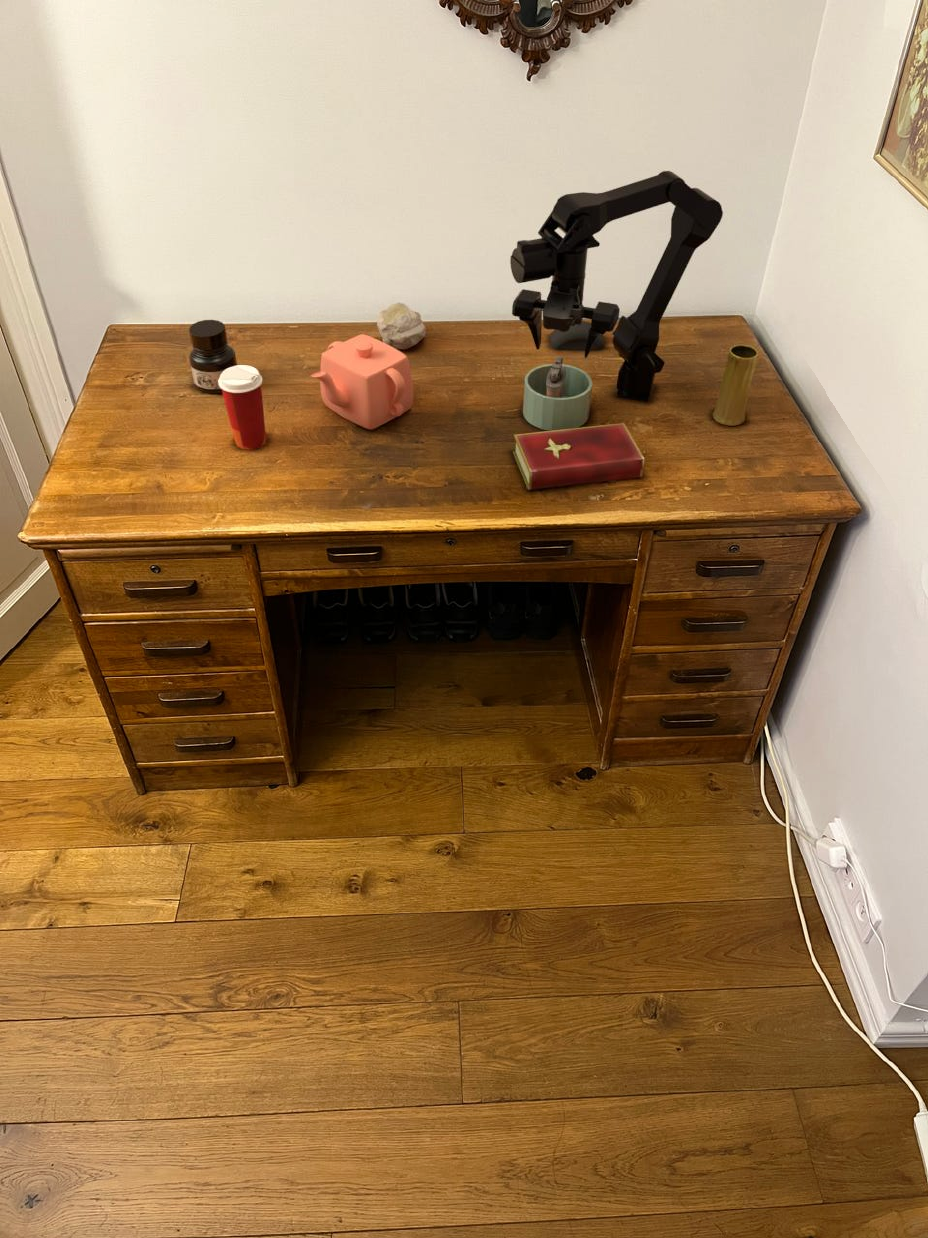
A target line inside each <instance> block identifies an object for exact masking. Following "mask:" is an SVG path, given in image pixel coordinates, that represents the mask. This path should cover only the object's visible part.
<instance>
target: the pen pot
mask: <svg viewBox="0 0 928 1238" xmlns="http://www.w3.org/2000/svg"><path fill="white" fill-rule="evenodd" d="M553 364H554V363H548V364H542V365H539V366H537V367H533V368H532V369H531V370H529V371H528V372H527V374H526V375H525V377H524V382H523V397H522V398H523V399H522V414H523V417H524V419H525V420H526V421H527V422H528V423H529V424H530V425H532V426H534V427H535V428H538V429H541V430H543V431H553V430H562V429H572V428H581V427H583V425H584V424H585V423H586V422H587V421H588V420H589V415H590V411H591V401H592V394H593V378H591V376H590V375H589V373H587V372H586V371H584V370H583V369H581V368H578V367H576V366H573V365H568V364H563V363H562V366H564V367H565V368H566V378H565V389H564V393H563V398H554V397H548V396H546V394H547V387H546V381H547V375H548V373H549V371H550V370H551V368H552V366H553Z"/></svg>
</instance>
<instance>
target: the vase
mask: <svg viewBox="0 0 928 1238" xmlns="http://www.w3.org/2000/svg"><path fill="white" fill-rule="evenodd" d="M758 357H759V351H758V349H757V348H756V347H754V346H751V345H749V344H735V345H732V346H730V348H729V351H728V354H727V357H726V358H727V359H726V363H725V367H724V371H723V376H722V379H721V384H720V388H719V393H718V397H717V401H716V403H715V408H714V410H713V412H712V417H713V419H714V421H716V422H717V423H718V424H721V425H723V426H729V427H735V426H739V425H741V424H743V423H744V422H745V420H746V410H747V405H748V401H749V397H750V391H751V387H752V386H751V385H752V381H753V377H754V374H755V370H756V366H757V362H758Z"/></svg>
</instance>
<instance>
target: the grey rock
mask: <svg viewBox="0 0 928 1238" xmlns="http://www.w3.org/2000/svg"><path fill="white" fill-rule="evenodd" d="M376 315H377V321H376V327H377V329H378V331H379V332H378V333H379V335H380V336H381V338H382V342H383V343H386V344H387V345H389V346H391V347H393V348H395V349H397V350H407V349H409V348H411V347H413V346H415V345H417V344H418V343H419V342H420V341H422V340H423V338H425V337H426V332H427V327H426V326H425V324H424V322H423V320H422V316H421V314H420V312H418V311H415V310H413V309H411V308H410V307H409V306H408V305H407V304H405V303H404V302H400V301H397V302H396V303H393V304H391V305H390V306H388V307H387V308H385V309H384V310H381V311H380V312H378V313H377V314H376Z"/></svg>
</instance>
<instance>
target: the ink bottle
mask: <svg viewBox="0 0 928 1238" xmlns="http://www.w3.org/2000/svg"><path fill="white" fill-rule="evenodd" d="M226 330H227V329H226V325H225V324H224V322H222V321H219V320H215V319H203V320H199V321H196V322H194V323H192V324H191V325H190V327H189V330H188V332H189V336H190V342H191V346H192V348H193V349H191V351H190V353H189V355H188V356H189V357H188V358H189V359H188V360H189V364H190V369H191V374H192V380H193V383H194V386H195V388H197V389H198V390H199V391H201V392H204V393H207V394H208V393H209V394H221V393H222V394H223V392H222V389H221V388H220V386H219V382H218V380H219V378H220V375H221V374H222V372H223V371H224V370H226V369H227V368H230V367H233V366H237V365H238V362H237V356H236V355H237V354H236V350H234V348H233V347H232V346H231V345H230V344H228V341H229V340H228V337H227V331H226Z"/></svg>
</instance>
